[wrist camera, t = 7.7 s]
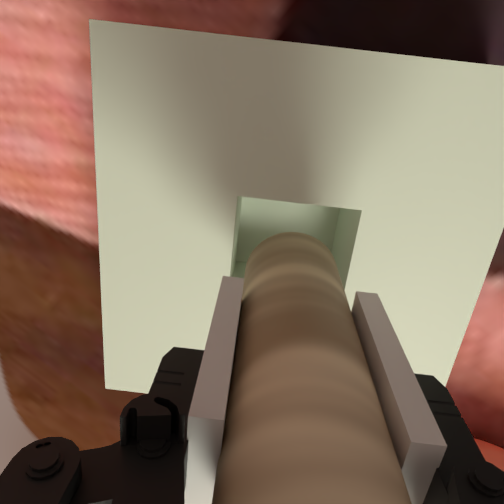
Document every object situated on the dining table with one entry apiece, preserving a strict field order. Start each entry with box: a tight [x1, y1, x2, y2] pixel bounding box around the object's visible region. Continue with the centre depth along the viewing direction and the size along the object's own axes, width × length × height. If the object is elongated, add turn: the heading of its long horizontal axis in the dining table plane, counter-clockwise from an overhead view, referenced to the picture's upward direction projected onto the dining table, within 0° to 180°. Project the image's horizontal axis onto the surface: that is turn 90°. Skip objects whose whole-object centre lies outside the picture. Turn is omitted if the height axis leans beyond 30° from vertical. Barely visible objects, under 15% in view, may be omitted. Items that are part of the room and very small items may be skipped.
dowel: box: [212, 232, 412, 504], centre depth 11 cm, size 4×4×16 cm
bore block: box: [89, 19, 504, 393], centre depth 22 cm, size 18×18×6 cm
